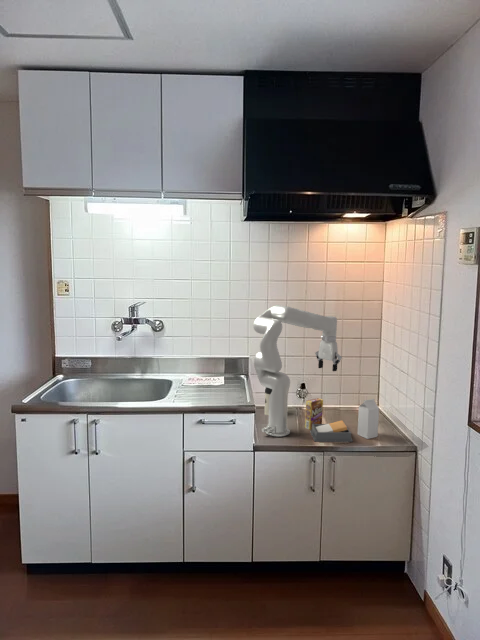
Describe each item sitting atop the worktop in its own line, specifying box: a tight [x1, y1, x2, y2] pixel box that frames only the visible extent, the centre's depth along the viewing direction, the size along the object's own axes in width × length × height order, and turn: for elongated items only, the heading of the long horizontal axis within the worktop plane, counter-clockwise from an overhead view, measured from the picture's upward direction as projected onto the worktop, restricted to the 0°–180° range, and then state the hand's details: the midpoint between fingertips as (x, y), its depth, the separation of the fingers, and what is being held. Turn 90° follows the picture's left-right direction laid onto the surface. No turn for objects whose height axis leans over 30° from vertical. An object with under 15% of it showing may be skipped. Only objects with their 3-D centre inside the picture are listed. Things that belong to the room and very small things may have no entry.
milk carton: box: [357, 398, 380, 440], centre depth 244 cm, size 7×7×19 cm
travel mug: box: [263, 387, 272, 417], centre depth 276 cm, size 8×8×18 cm
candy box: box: [304, 397, 324, 431], centre depth 256 cm, size 9×4×15 cm, turn 125°
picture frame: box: [316, 420, 348, 432], centre depth 243 cm, size 14×10×2 cm
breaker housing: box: [309, 423, 353, 443], centre depth 243 cm, size 19×13×4 cm
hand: (327, 369), depth 266 cm, fingers open, 9 cm apart
